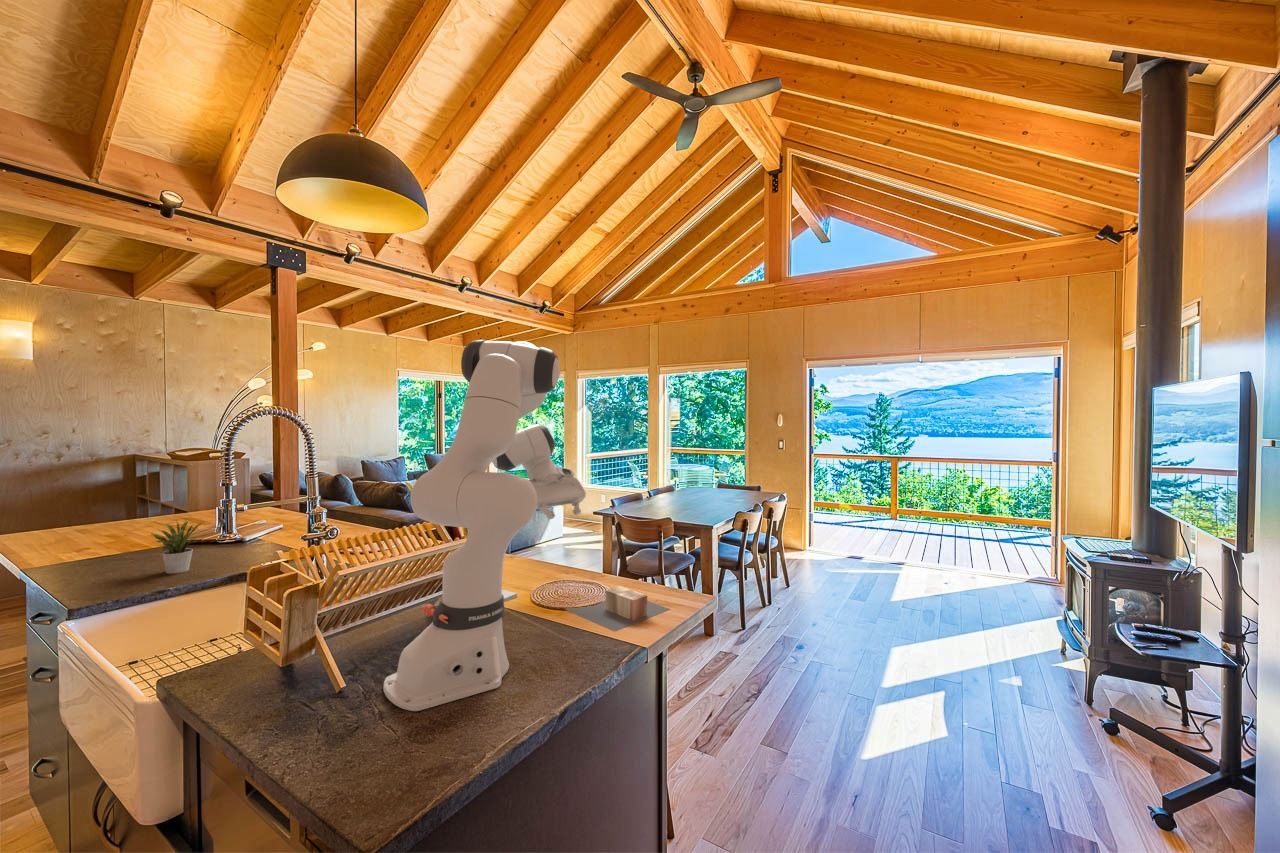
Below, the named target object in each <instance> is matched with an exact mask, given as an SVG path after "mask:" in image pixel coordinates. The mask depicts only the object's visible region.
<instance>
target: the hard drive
mask: <svg viewBox="0 0 1280 853" xmlns="http://www.w3.org/2000/svg"><path fill="white" fill-rule="evenodd" d="M502 595H503V596H504V603H506V602H508V601H510V600H514V599H516V598H518V593H517V592H515V591H510V590H505V589H502Z"/></svg>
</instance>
